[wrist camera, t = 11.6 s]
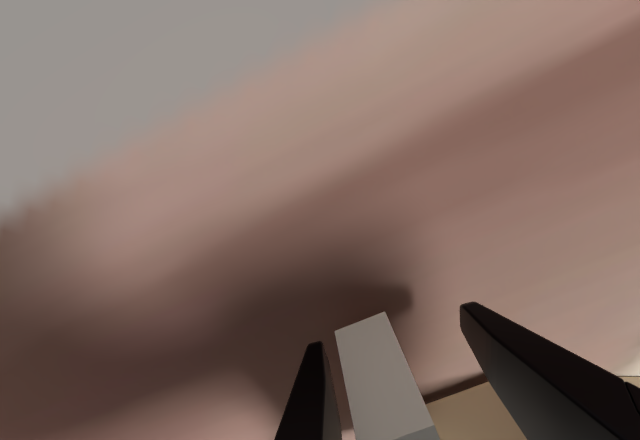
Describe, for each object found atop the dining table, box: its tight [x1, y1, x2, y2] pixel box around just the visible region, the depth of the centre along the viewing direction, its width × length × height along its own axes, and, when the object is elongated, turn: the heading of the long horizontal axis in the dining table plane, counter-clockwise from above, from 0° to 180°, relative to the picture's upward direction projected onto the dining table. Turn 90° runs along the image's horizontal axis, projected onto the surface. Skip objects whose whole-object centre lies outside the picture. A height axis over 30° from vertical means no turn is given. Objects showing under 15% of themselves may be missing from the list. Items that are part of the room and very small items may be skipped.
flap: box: [335, 311, 527, 440], centre depth 9 cm, size 6×7×4 cm
